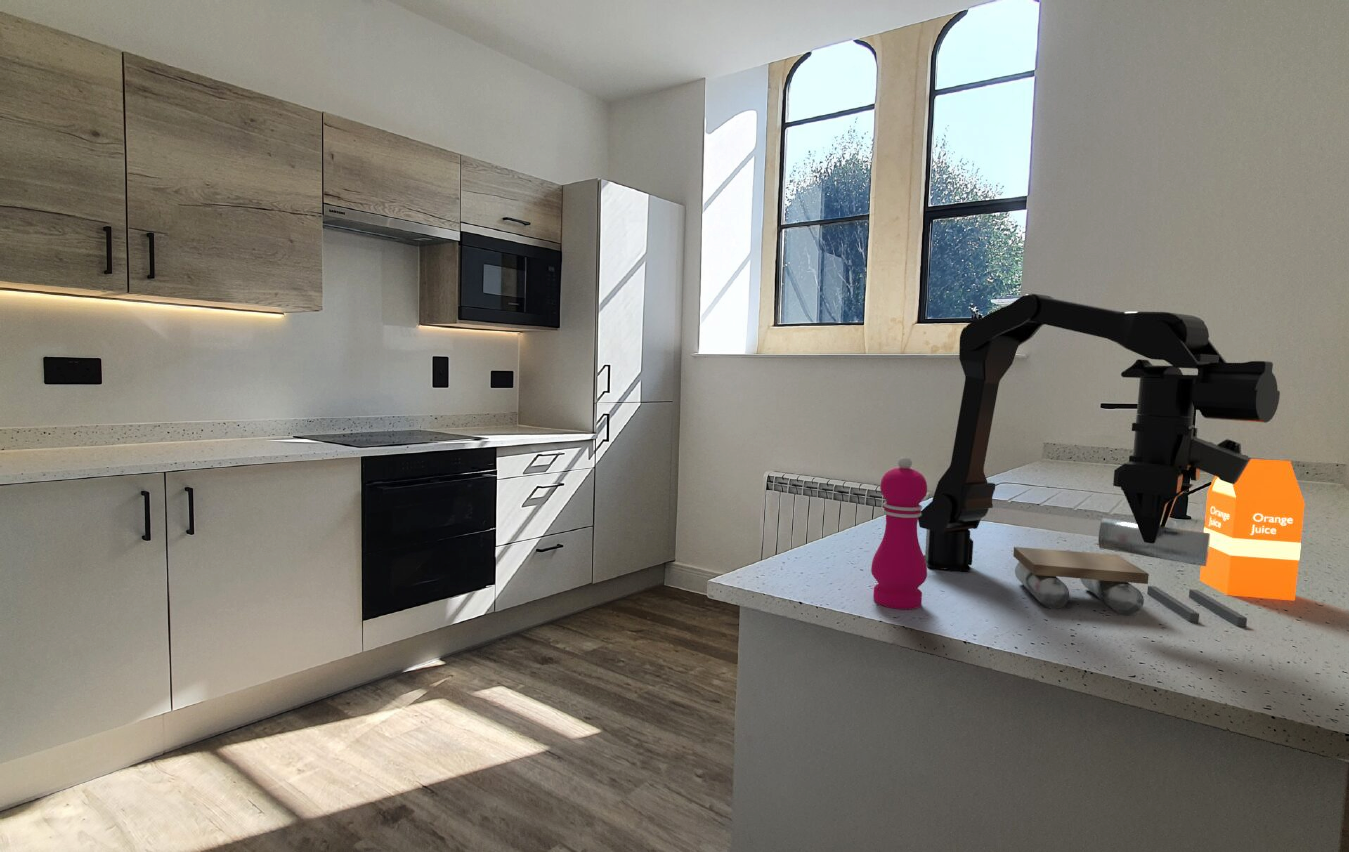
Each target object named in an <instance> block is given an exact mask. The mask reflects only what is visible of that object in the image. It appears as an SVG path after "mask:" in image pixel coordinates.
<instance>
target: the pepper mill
mask: <svg viewBox="0 0 1349 852" xmlns="http://www.w3.org/2000/svg"><path fill="white" fill-rule="evenodd" d="M897 464H898V467H895V468H892V469H890V470H888V471H887V472H885V474H884V475H883V476H882V478H881V479H880V480H881V481H880V489H879V490H880V492H881V495H882V496H883V498H885V501H884V502H883V504H882V505H883V509H882V513H883V514H884V515H885V529H884V533H883V537H882V540H881V542H880V544H879V546H878V548H877V550H876V551H875V553H874V555H873V558H872V561H871V569H870V570H871V571H870V572H871V575H872V576H873V578H874V580H875V581H876V582H877V584H876V585H874V587H873V601H874V602H875V603H877V604H878V605H881V606H884V607H887V608H890V609H896V610H914V609H918V608H920V607H921V605H922V601H923V597H922V596H923V591H921V590H920V589H919V588H920V587H921V585H923V584H924V583H925V582H926V580H927V577H928V569H927V568H928V566H927V565H926V562H925V558H924V556H923V555H924V554H923V550H922V548H921V545H920V542H919V537H918V523H919V522H918V517H920V516H921V515H922V513H921V511H922V510H923V506H922V505H921V502H922V501H923V499H925V497H926V496H927V493H928V484H927V480H926V477H925V476H924V475H923V474H922V473H921V472H919V471H918V470H916V469H914V468H911V467H912V465H913V461H912V459H911V458H910V457H908V456H901V457H900V458H899V459H898V460H897Z"/></svg>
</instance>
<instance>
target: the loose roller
mask: <svg viewBox="0 0 1349 852" xmlns="http://www.w3.org/2000/svg"><path fill="white" fill-rule="evenodd" d="M1097 543H1098V548H1099V549H1101V550H1102V549H1103V550H1106V551H1107V550H1108V551H1114V552H1120V553H1126V554H1131V555H1137V556H1142V557H1150V558H1155V559H1161V560H1167V561H1172V562H1176V563H1177V562H1178V563H1183V564H1190V565H1195V566H1200V567H1201V566H1205V567H1206V565H1207V561H1208V555H1209V546H1210V533H1204V531H1203V532H1202V531H1197V530H1189V529H1182V528H1175V527H1169V526H1166V527H1163V526H1160V529H1159V532H1158V535H1157V538H1156V541H1155V543H1153V544H1151V543H1146V542H1144V540H1143V538H1142V535H1141V533H1140V530H1139V528H1138V525H1137V523H1136V521H1129V520H1128V521H1127V520H1121V519H1117V518H1116V519H1115V518H1108V517H1103V518H1102V519H1101V522H1100V525H1099V530H1098V542H1097Z"/></svg>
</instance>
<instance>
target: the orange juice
mask: <svg viewBox="0 0 1349 852" xmlns="http://www.w3.org/2000/svg"><path fill="white" fill-rule="evenodd" d="M1206 498H1207V499H1206V505H1205V507H1206V508H1205V518H1204V519H1205V520H1204V526H1203V532H1204V533H1210V546H1209V555H1208V561H1207V565H1206V567H1205V566H1200V574H1199V581H1200V582H1201V583H1203V584H1206V585H1208V586H1210V587H1211V588H1213V589H1214V590H1217V591H1218V592H1220V593H1223V594H1224V595H1226V596H1232V597H1233V596H1234V597H1235V596H1236V597H1244V598H1245V597H1246V598H1259V599H1269V600H1284V601H1295V600H1296V593H1297V592H1296V591H1297V583H1298V582H1297V581H1298V573H1299V572H1298V571H1299V562H1300V560H1301V559H1300V558H1301V557H1300V556H1301V547H1302V543H1301V542H1302V533H1303V532H1302V531H1303V523H1304V514H1305V502H1306V501H1304V498H1303V495H1302V493H1301V489H1300V486H1299V484H1298V480H1297V477H1296V475H1295V472H1294V469H1293V465H1292V463H1291V460H1279V459H1278V460H1277V459H1276V460H1275V459H1273V460H1272V459H1255V458H1254V459H1253V458H1251V460H1250V461H1249V463H1248V465H1247V466H1246V468H1245V470H1244V471H1243V473H1242V474H1241V476H1240V478H1239V479H1238V481H1237V482H1236V483H1235V484H1230V483H1227V482H1225V481H1222V480H1220V479H1219V478H1218V477H1217V476H1214V478H1213V480H1212V482H1211V484H1210V486H1209V488H1208V489H1207V495H1206Z"/></svg>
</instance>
